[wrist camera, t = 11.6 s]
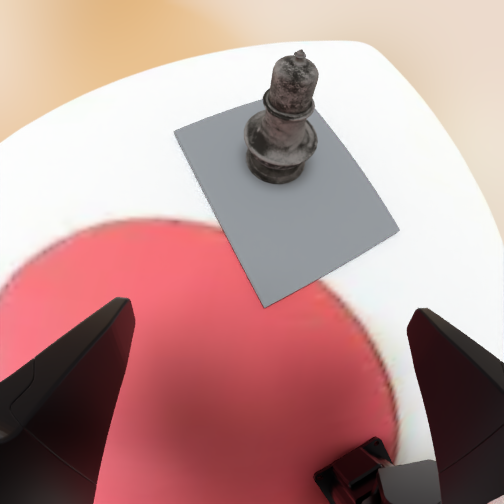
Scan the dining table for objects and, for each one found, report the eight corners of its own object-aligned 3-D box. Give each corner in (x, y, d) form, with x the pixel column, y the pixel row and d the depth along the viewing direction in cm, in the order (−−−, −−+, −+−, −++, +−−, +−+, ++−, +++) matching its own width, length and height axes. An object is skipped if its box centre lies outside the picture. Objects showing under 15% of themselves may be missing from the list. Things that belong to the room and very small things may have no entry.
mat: (397, 231, 24) (399, 230, 24) (264, 308, 22) (264, 307, 21) (297, 91, 28) (298, 89, 27) (174, 133, 25) (173, 131, 25)
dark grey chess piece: (315, 147, 25) (357, 47, 14) (296, 197, 24) (341, 96, 12) (257, 125, 26) (270, 18, 14) (231, 172, 24) (231, 60, 12)
